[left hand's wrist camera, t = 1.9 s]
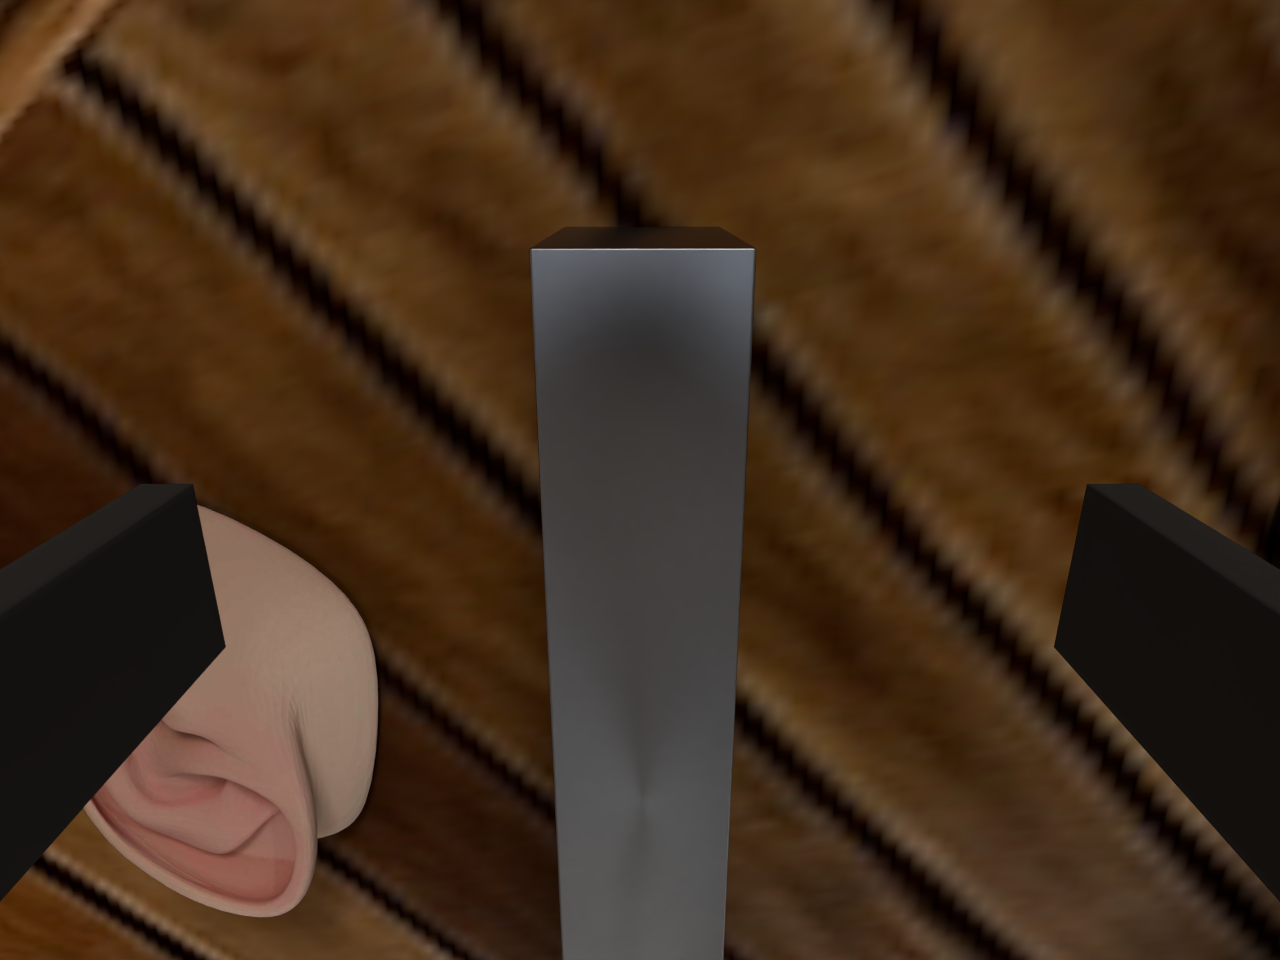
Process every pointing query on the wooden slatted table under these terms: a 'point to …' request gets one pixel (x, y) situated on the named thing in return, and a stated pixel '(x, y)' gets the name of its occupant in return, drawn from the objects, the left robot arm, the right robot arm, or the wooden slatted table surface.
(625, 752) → the bar
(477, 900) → the wooden slatted table surface
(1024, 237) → the wooden slatted table surface
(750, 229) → the wooden slatted table surface
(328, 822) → the anatomical model
